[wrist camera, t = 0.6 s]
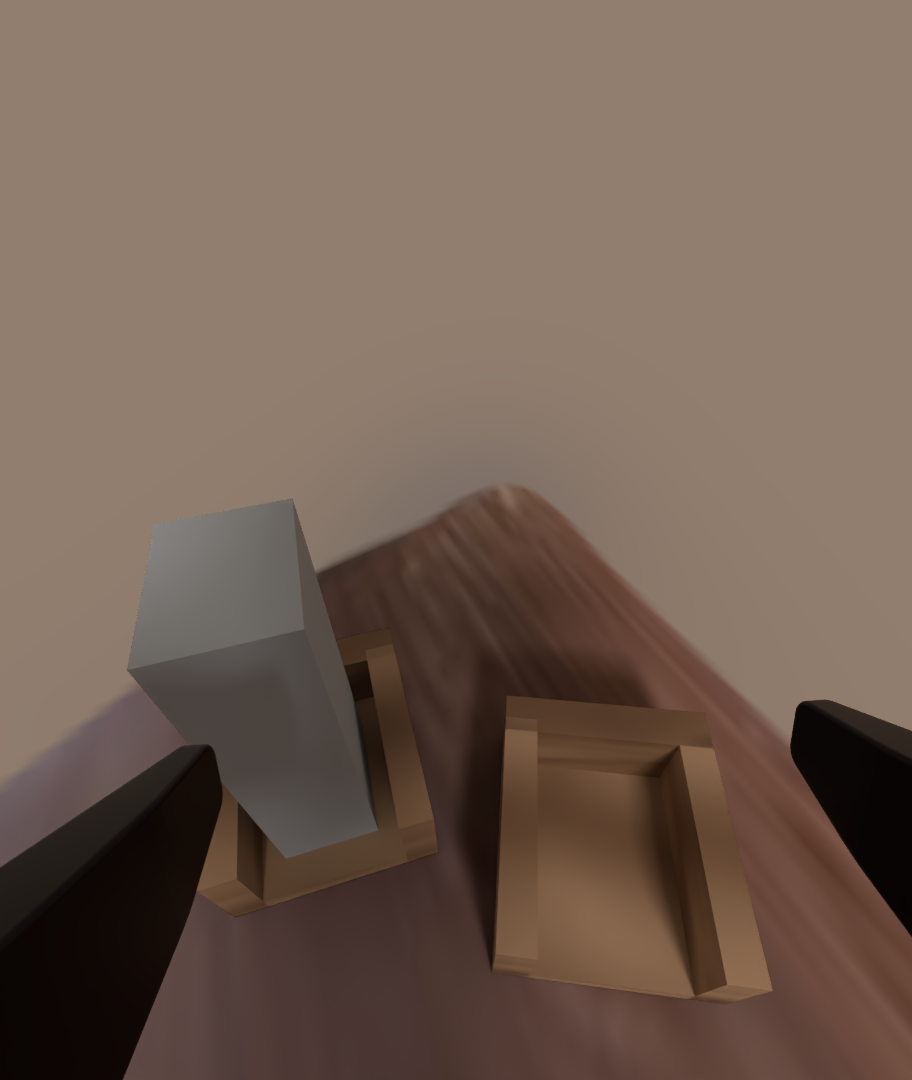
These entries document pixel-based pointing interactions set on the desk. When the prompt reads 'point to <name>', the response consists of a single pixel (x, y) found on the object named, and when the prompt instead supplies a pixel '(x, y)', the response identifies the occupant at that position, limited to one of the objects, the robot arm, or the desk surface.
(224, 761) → the slat
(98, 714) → the desk surface
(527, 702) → the end cap
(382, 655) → the end cap
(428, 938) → the desk surface
